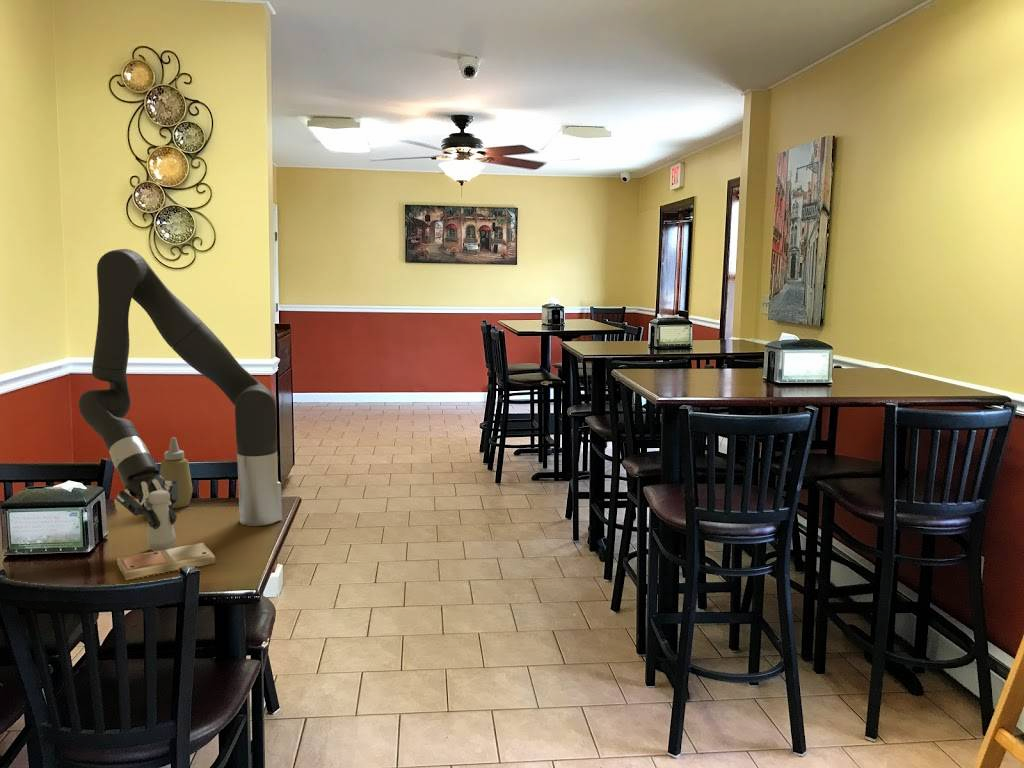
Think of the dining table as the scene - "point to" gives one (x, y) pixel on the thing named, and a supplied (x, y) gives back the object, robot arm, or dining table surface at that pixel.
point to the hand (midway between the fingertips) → (165, 524)
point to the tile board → (165, 560)
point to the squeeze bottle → (177, 473)
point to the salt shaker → (165, 532)
